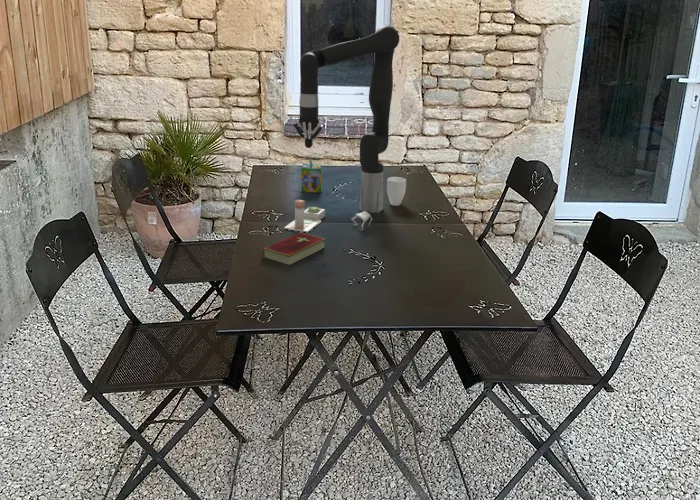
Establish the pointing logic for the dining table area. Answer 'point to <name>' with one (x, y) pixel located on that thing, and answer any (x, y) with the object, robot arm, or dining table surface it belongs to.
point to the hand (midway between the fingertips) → (308, 147)
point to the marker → (299, 213)
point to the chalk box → (312, 178)
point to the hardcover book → (294, 248)
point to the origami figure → (362, 217)
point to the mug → (396, 190)
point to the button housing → (314, 214)
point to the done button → (313, 209)
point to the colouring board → (308, 225)
